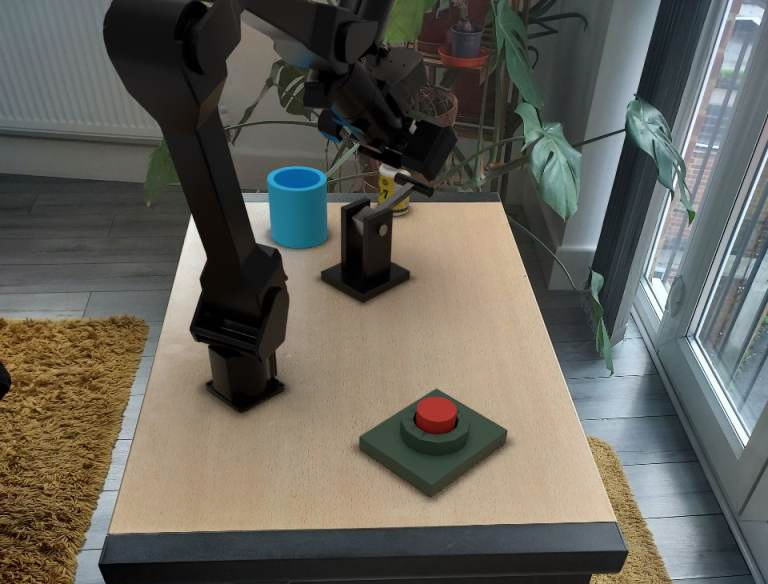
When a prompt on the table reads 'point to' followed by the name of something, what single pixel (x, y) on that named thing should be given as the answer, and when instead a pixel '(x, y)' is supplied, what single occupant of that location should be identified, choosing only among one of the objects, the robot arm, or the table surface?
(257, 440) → the table surface
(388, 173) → the supplement bottle
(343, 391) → the table surface
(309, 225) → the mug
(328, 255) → the table surface
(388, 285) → the lever bracket
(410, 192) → the lever
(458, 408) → the switch
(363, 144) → the robot arm
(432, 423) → the button
